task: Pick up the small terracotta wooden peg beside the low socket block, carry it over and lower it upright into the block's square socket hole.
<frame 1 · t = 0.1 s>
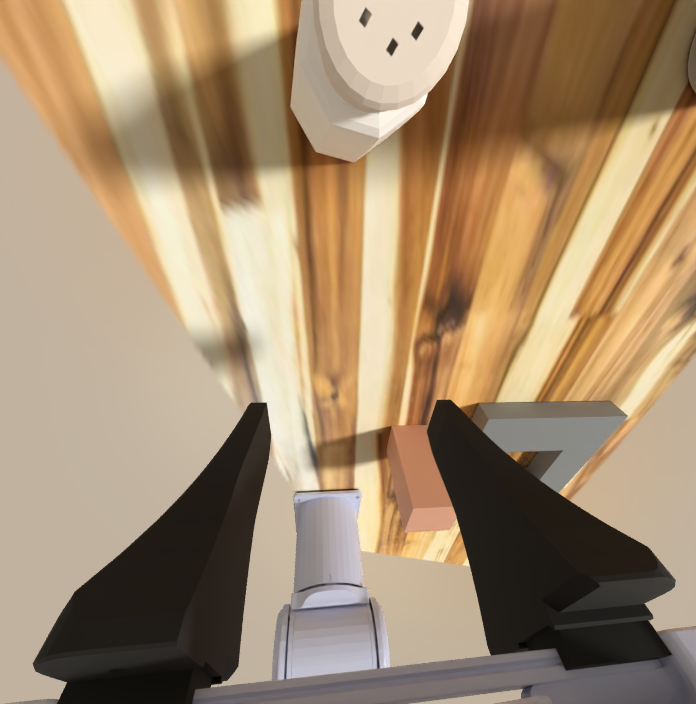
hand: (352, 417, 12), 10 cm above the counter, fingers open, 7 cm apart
socket block: (514, 452, 33), on the counter
pepper shaker: (345, 96, 14), on the counter
terracotta peg: (407, 438, 30), on the counter
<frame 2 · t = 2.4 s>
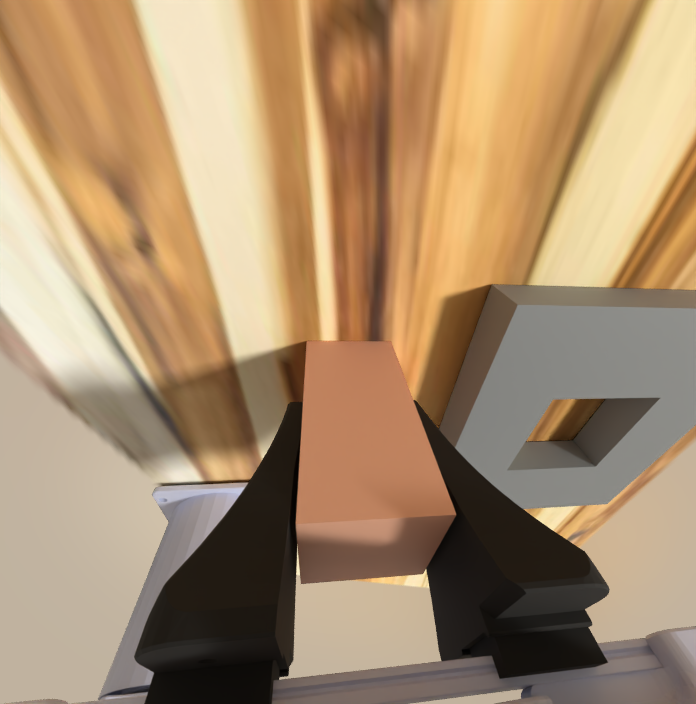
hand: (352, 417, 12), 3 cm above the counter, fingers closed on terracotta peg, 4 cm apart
socket block: (553, 410, 18), on the counter
terracotta peg: (347, 374, 15), on the counter, touching gripper
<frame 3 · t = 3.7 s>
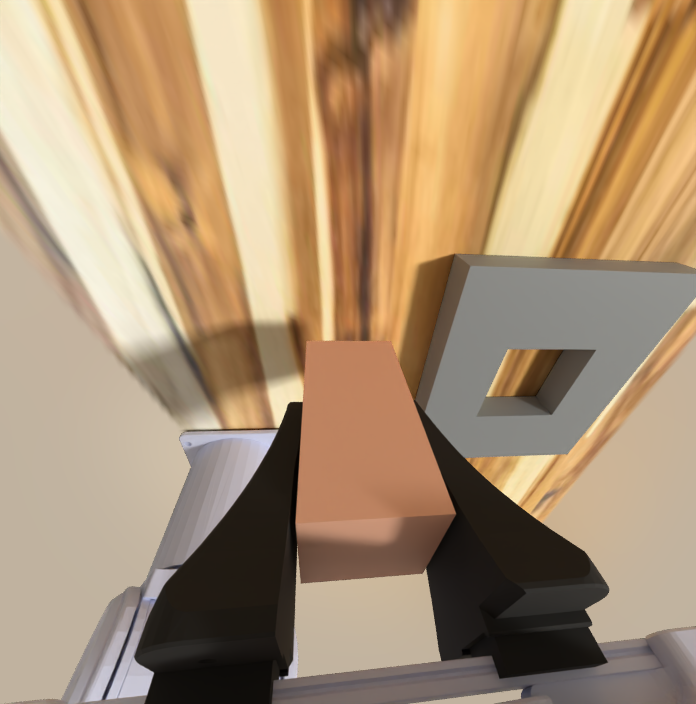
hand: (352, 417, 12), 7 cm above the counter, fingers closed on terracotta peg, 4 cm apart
socket block: (515, 367, 21), on the counter
terracotta peg: (346, 373, 15), point 4 cm above the counter, touching gripper
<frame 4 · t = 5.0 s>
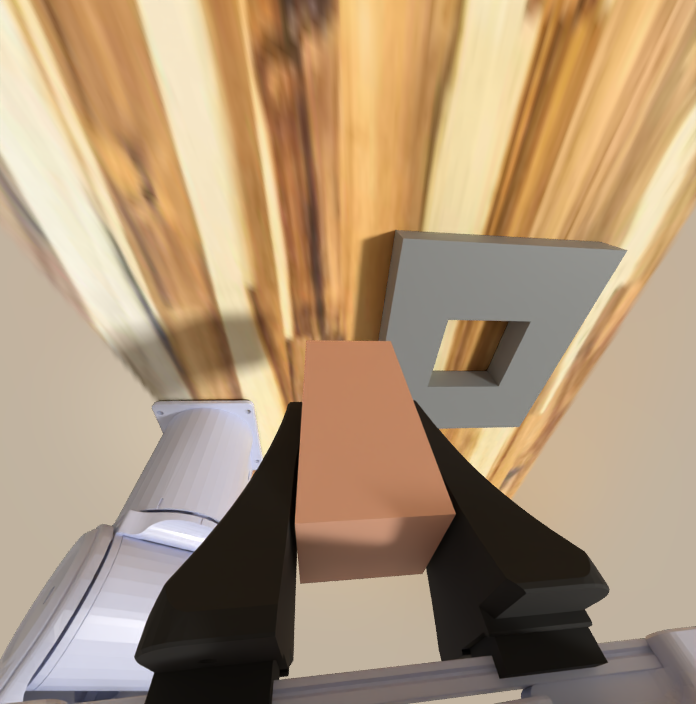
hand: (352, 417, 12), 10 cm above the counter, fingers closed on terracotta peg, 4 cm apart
socket block: (464, 341, 23), on the counter
terracotta peg: (346, 373, 15), point 7 cm above the counter, touching gripper
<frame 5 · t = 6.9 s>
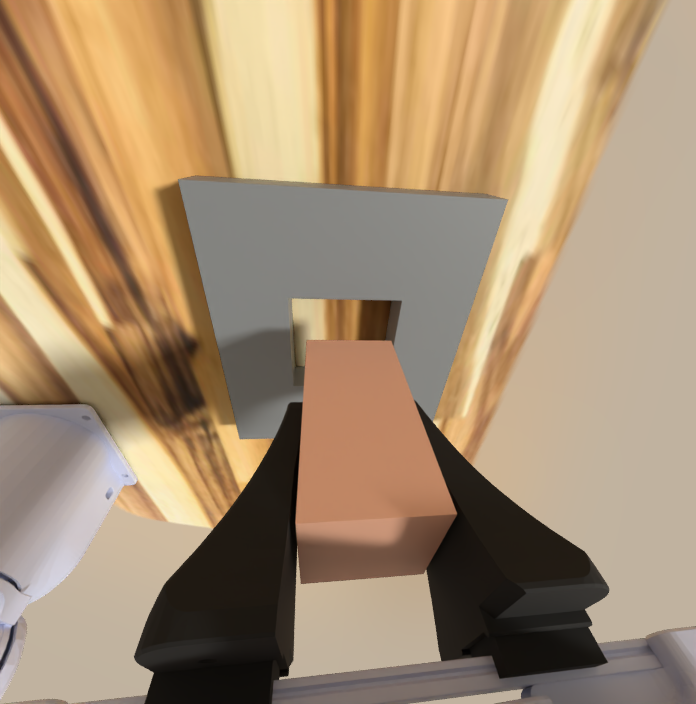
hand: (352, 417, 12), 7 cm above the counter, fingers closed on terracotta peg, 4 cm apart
socket block: (340, 329, 18), on the counter
terracotta peg: (347, 373, 15), point 4 cm above the counter, touching gripper
when the fingers open (4 cm above the counter, at t = 8.1 s): terracotta peg drops 1 cm, resting in socket block.
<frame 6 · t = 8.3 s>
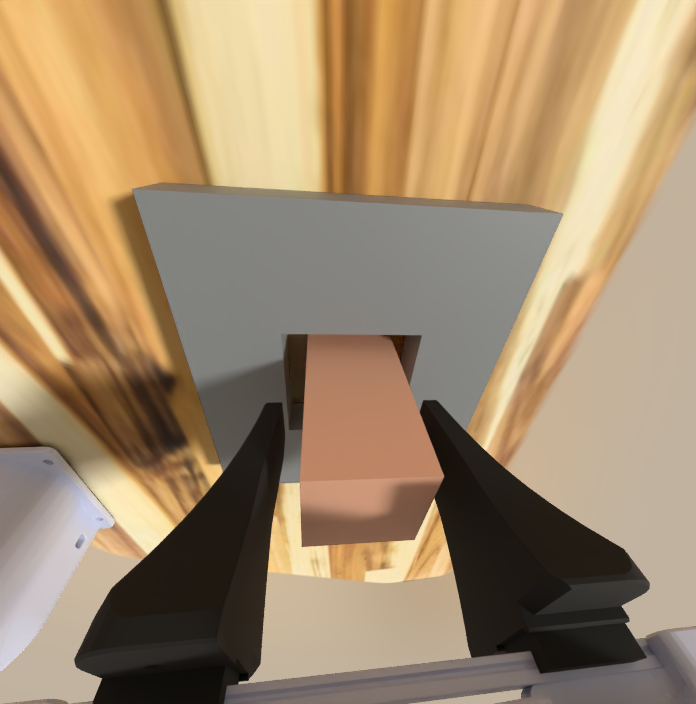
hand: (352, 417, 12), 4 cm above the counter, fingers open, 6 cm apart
socket block: (345, 362, 15), on the counter
terracotta peg: (345, 361, 15), resting in socket block
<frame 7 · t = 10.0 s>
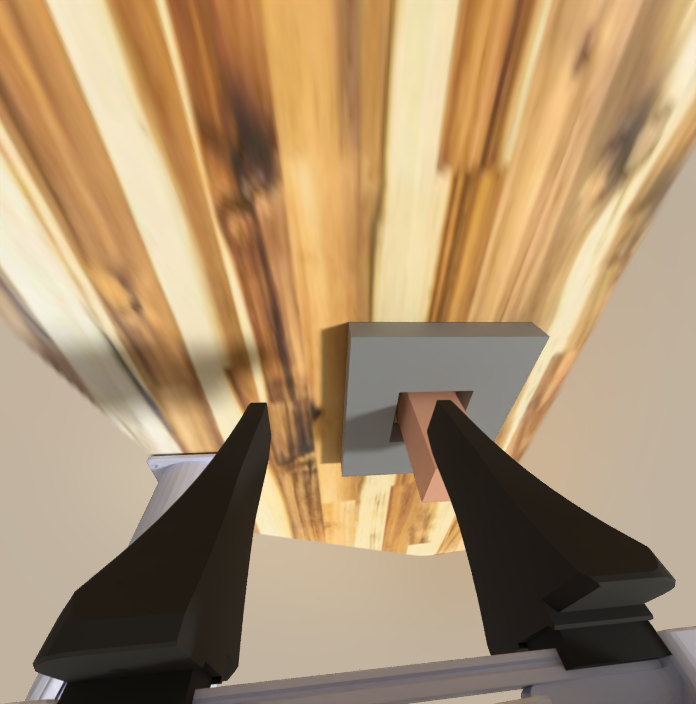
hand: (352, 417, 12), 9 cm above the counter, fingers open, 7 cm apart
socket block: (422, 400, 26), on the counter
terracotta peg: (422, 400, 26), resting in socket block
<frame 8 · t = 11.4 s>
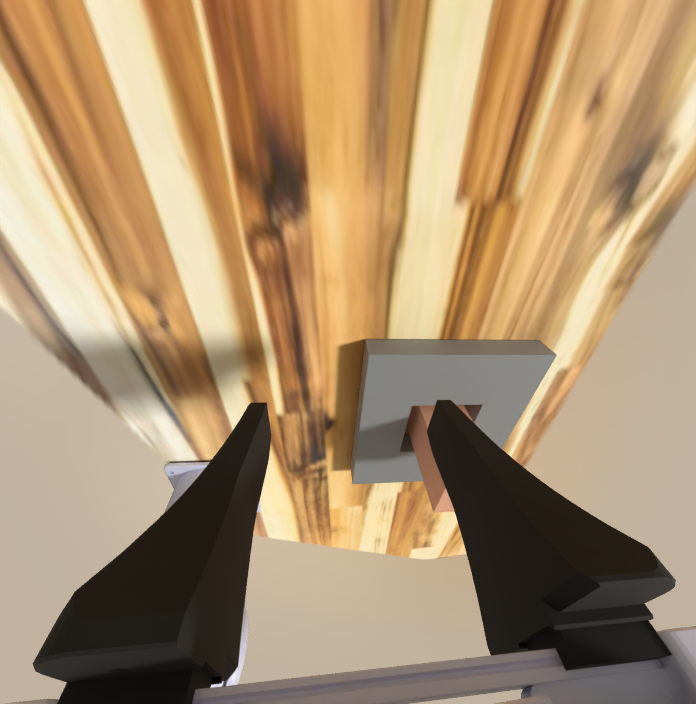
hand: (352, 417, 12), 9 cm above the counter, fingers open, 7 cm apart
socket block: (431, 412, 27), on the counter
terracotta peg: (431, 411, 27), resting in socket block
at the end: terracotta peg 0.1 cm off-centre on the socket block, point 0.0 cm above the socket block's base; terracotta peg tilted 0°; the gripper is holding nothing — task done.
